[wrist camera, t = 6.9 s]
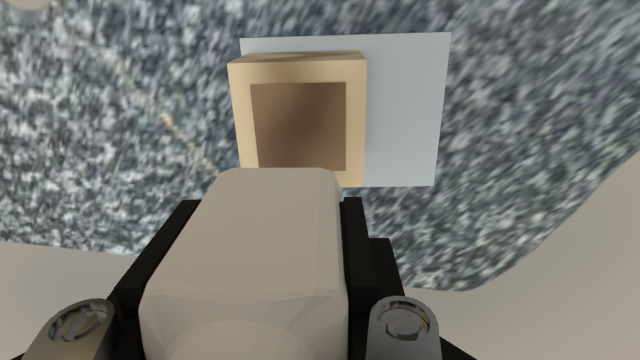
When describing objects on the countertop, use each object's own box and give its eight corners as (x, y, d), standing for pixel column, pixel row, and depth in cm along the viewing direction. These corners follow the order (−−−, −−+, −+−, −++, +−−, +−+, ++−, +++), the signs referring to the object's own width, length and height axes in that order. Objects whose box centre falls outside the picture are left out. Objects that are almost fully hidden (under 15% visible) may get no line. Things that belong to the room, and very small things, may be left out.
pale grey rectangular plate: (448, 31, 26) (451, 31, 25) (431, 181, 31) (433, 185, 30) (241, 37, 26) (239, 38, 25) (258, 185, 31) (256, 189, 30)
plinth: (358, 49, 26) (367, 59, 20) (356, 154, 29) (363, 187, 23) (247, 53, 26) (226, 63, 20) (259, 156, 29) (243, 189, 24)
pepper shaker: (232, 258, 14) (71, 682, 5) (218, 160, 12) (-62, 547, 3) (337, 258, 14) (358, 689, 5) (338, 160, 12) (373, 555, 3)
